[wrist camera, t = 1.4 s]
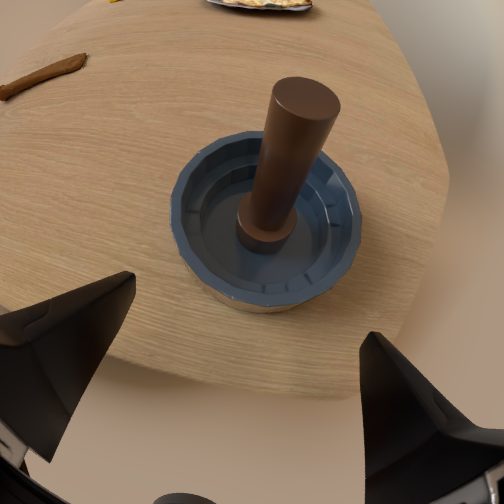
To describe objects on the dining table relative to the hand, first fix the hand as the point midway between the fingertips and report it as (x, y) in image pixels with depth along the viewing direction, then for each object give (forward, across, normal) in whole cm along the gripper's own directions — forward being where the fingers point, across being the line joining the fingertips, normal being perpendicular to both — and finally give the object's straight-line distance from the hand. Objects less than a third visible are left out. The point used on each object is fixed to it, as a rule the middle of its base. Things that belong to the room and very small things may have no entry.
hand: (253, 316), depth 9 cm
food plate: (+54, +13, -37) cm, 66 cm away
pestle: (+14, 0, +2) cm, 14 cm away
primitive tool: (+28, +44, -12) cm, 53 cm away
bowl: (+14, 0, +2) cm, 14 cm away
